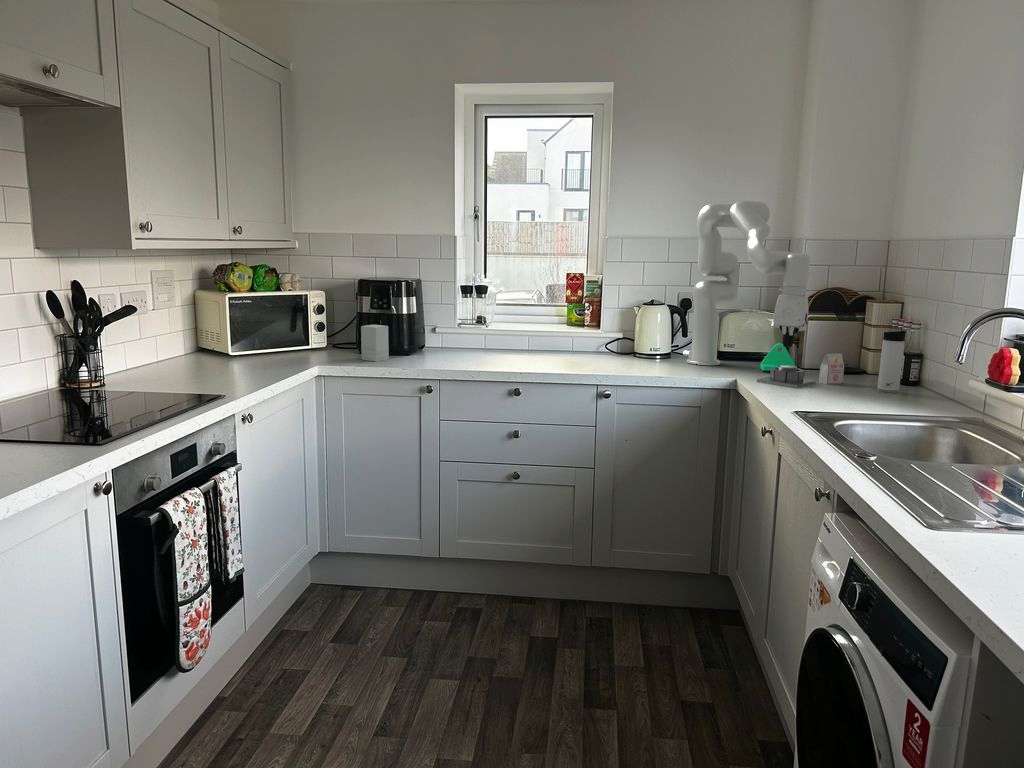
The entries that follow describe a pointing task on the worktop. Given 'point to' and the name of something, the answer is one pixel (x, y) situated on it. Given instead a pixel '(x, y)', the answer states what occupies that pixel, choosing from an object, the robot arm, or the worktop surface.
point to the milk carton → (831, 369)
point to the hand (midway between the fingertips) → (787, 346)
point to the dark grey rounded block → (787, 368)
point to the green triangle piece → (776, 358)
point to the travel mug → (891, 362)
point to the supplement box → (374, 342)
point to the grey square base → (787, 378)
